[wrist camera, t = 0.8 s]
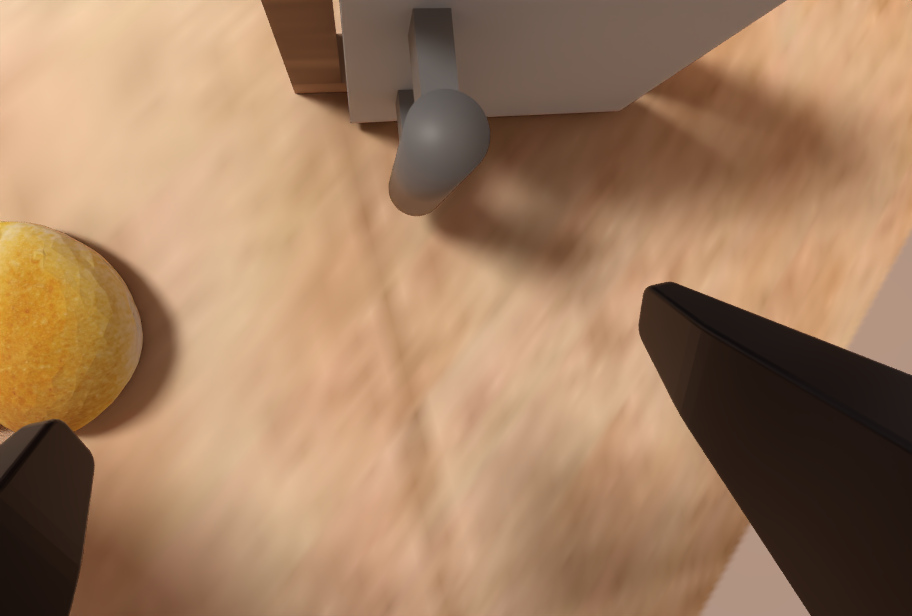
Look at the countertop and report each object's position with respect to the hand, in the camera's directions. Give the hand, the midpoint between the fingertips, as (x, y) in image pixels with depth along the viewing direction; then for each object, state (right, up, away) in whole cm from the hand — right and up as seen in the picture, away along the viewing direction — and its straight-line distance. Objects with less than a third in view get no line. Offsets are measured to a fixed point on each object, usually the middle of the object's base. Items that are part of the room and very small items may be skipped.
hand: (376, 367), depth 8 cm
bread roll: (-16, 0, +13) cm, 21 cm away
